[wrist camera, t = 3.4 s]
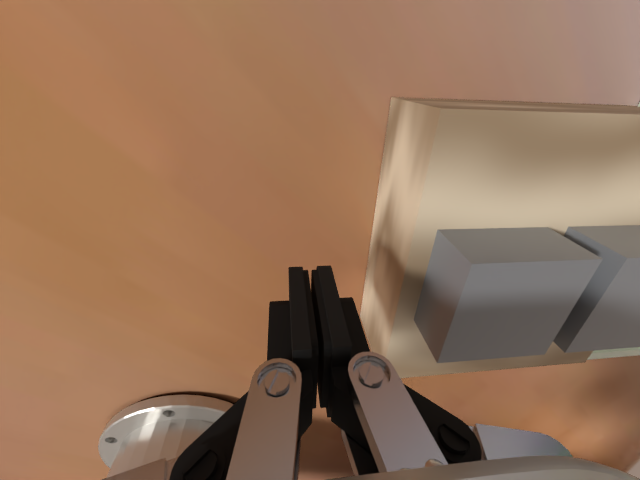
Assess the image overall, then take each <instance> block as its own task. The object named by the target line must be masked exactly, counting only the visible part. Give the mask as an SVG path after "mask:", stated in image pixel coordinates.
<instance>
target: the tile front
mask: <svg viewBox="0 0 640 480" xmlns="http://www.w3.org/2000/svg"><path fill="white" fill-rule="evenodd" d="M602 260H603V259H602V258H600V257H599V256H597V255H595V254H593V253H592V252H590V251H588V250H586V249H585V248H583V247H581V246H580V245H578V244H576V243H574V242H573V241H571V240H569V239H567V238H566V237H564V236H562V235H561V234H559V233H557V232H555V231H554V230H552V229H550V228H548V227H528V228H483V229H438V230H437V233H436V237H435V241H434V245H433V249H432V252H431V256H430V260H429V264H428V267H427V271H426V275H425V279H424V283H423V286H422V290H421V294H420V298H419V301H418V305H417V309H416V313H415V317H414V321H415V323H416V325H417V327H418V329H419V331H420V333H421V334H422V336H423V338H424V340H425V342H426V344H427V345H428V347H429V349H430V351H431V353H432V355H433V357H434V358H435V360H436V362H437V363H447V362H459V361H472V360H484V359H496V358H509V357H521V356H533V355H545V353H546V352H547V350H548V348H549V347H550V345H551V343H552V342H553V340H554V339H555V337H556V335H557V334H558V332H559V330H560V329H561V327H562V325H563V324H564V322H565V321H566V319H567V317H568V316H569V314H570V312H571V311H572V309H573V307H574V306H575V304H576V302H577V301H578V299H579V298H580V296H581V294H582V293H583V291H584V289H585V288H586V286H587V284H588V283H589V281H590V280H591V278H592V276H593V275H594V273H595V271H596V270H597V268H598V266H599V265H600V263H601V262H602Z"/></svg>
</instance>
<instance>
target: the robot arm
mask: <svg viewBox="0 0 640 480" xmlns="http://www.w3.org/2000/svg"><path fill="white" fill-rule="evenodd" d="M317 384H318V393H319V401H320V407H321V408H324V407H326V411H327V417H331V421H332V422H333V423H335V424H336V425H337V426H338V427H340V428H341V435H342V439H343V442H344V445H345V448H346V451H347V455H348V458H349V461H350V464H351V467H352V471H353V474H354V476H351V477H343V478H335V479H327V480H640V479H639V478H637V477H634V476H632V475H630V474H628V473H625V472H623V471H620V470H618V469H615V468H612V467H609V466H606V465H603V464H600V463H597V462H593V461H588V460H584V459H580V458H573V456H572V455H571V454H570V452H569V451H568V450H567V449H566V448H565V447H564V446H563V445H562V444H561V443H560V442H558V441H557V440H555V439H553V438H552V437H550V436H548V435H545V434H542V433H538V432H531V431H524V430H517V429H510V428H503V427H496V426H489V425H482V424H475V426H474V427H472V426H468V425H466V424H465V423H464V422H463V421H461V420H460V419H458V418H457V417H455V416H454V415H452V414H450V413H449V412H447V411H446V410H444V409H443V408H441V407H439V406H438V405H436V404H435V403H433V402H431V401H430V400H428V399H427V398H425V397H423V396H422V395H420V394H419V393H417V392H415V391H414V390H412V389H411V388H409V387H408V386H406V385H404V384H403V383H402V381H401V379H400V377H399V375H398V374H397V372H396V370H395V368H394V366H393V365H392V364H391V362H390V361H389V360H388V359H386V358H385V357H384V356H382V355H380V354H378V353H374V352H370V350H369V347H368V344H367V341H366V338H365V334H364V331H363V328H362V325H361V322H360V319H359V316H358V313H357V310H356V306H355V303H354V301H353V298H352V297H350V298H339V294H338V291H337V287H336V283H335V279H334V275H333V272H332V268H331V266H317V270H312V277H311V289H310V282H309V275H308V270H303V268H302V267H289V301H272V302H270V306H269V328H268V351H267V361H266V362H264V363H263V364H261V365H260V366H259V367H258V368H257V369H256V371H255V372H254V375H253V377H252V380H251V384H250V388H249V391H248V392H247V393H246V394H245V395H244V396H243V397H241V398H240V399H239V400H238V401H237V402H236V403H235V404H232V403H230V402H227V401H224V400H220V399H217V398H213V397H207V396H201V395H184V394H183V395H167V396H161V397H155V398H150V399H147V400H144V401H140V402H137V403H135V404H133V405H131V406H129V407H126V408H124V409H123V410H121V411H120V412H118V413H117V414H116V415H114V416H113V417H112V419H111V420H110V421H109V422H108V423H107V425H106V427H105V429H104V431H103V433H102V435H101V437H100V439H99V445H98V450H99V454H100V457H101V458H102V460H103V461H104V463H105V464H106V465H107V466H108V467H109V468H110V470H109V473H108V475H107V477H106V478H105V479H102V480H298V473H299V461H300V448H301V436H302V435H303V433H304V432H305V431H306V430H307V428H308V427H309V426H310V425H311V423H312V409H313V408H316V395H317Z"/></svg>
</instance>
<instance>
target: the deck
mask: <svg viewBox="0 0 640 480" xmlns="http://www.w3.org/2000/svg"><path fill="white" fill-rule="evenodd" d="M619 225H640V107H638V106H626V105H598V104H570V103H542V102H513V101H485V100H457V99H428V98H400V97H391V102H390V109H389V116H388V123H387V130H386V137H385V144H384V151H383V158H382V165H381V173H380V180H379V187H378V194H377V201H376V208H375V215H374V222H373V229H372V236H371V243H370V250H369V257H368V264H367V271H366V278H365V285H364V292H363V299H362V306H361V313H360V317H361V320H362V323H363V326H364V329H365V332H366V336H367V339H368V342H369V345H370V348H371V351H372V352H374V353H378V354H380V355H382V356H384V357H385V358H386V359H388V360H389V361H390V362H391V364H392V365H393V366H394V368H395V370H396V372H397V374H398V375H399V377H400V378H407V377H419V376H431V375H442V374H454V373H466V372H477V371H489V370H501V369H512V368H524V367H536V366H547V365H559V364H571V363H582V362H586V360H587V359H588V357H589V356H590V355H591V353H592V352H593V351H583V352H571V353H565V352H564V351H562V350H561V349H560V348H559V347H558V346H557V345H556V344H555V343H554V342H552V343H551V345H550V347H549V348H548V350H547V352H546V353H545V355H533V356H521V357H509V358H496V359H484V360H472V361H459V362H447V363H437V362H436V360H435V358H434V357H433V355H432V353H431V351H430V349H429V347H428V345H427V344H426V342H425V340H424V338H423V336H422V334H421V333H420V331H419V329H418V327H417V325H416V323H415V321H414V317H415V313H416V309H417V305H418V301H419V298H420V294H421V290H422V286H423V283H424V279H425V275H426V271H427V267H428V264H429V260H430V256H431V252H432V249H433V245H434V241H435V237H436V233H437V230H438V229H483V228H528V227H548V228H550V229H552V230H554V231H555V232H557V233H559V234H561V235H562V236H564V234H565V232H566V230H567V228H568V227H574V226H619Z"/></svg>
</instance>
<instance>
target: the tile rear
mask: <svg viewBox="0 0 640 480" xmlns="http://www.w3.org/2000/svg"><path fill="white" fill-rule="evenodd" d="M564 237H566V238H567V239H569V240H571V241H573V242H574V243H576V244H578V245H580V246H581V247H583V248H585V249H586V250H588V251H590V252H592V253H593V254H595V255H597V256H599V257H600V258H602V259H603V260H602V262H601V263H600V265H599V266H598V268H597V270H596V271H595V273H594V275H593V276H592V278H591V280H590V281H589V283H588V284H587V286H586V288H585V289H584V291H583V293H582V294H581V296H580V298H579V299H578V301H577V302H576V304H575V306H574V307H573V309H572V311H571V312H570V314H569V316H568V317H567V319H566V321H565V322H564V324H563V325H562V327H561V329H560V330H559V332H558V334H557V335H556V337H555V339H554V340H553V342H554V343H555V344H556V345H557V346H558V347H559V348H560V349H561V350H562V351H564V352H565V353H571V352H583V351H595V350H608V349H620V348H633V347H640V225H619V226H574V227H568V228H567V230H566V232H565V234H564Z"/></svg>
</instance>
